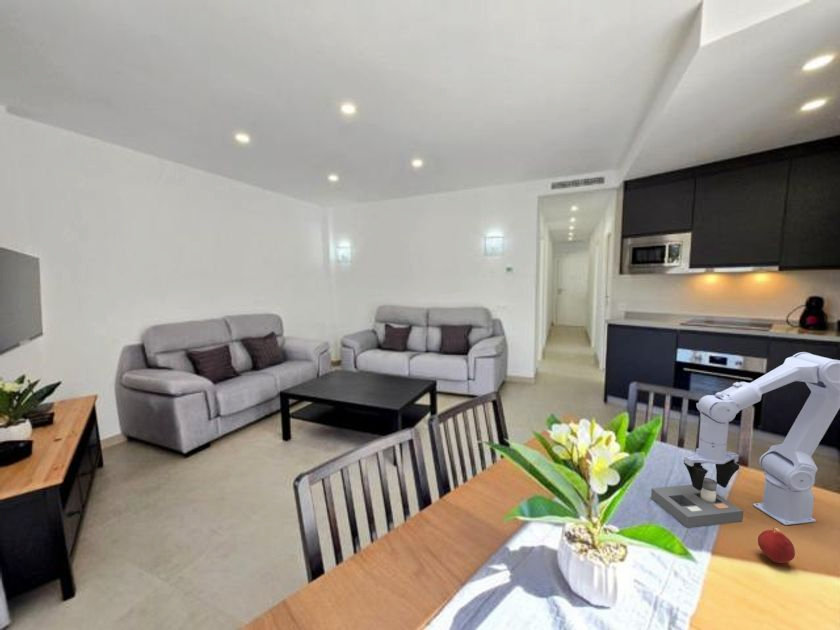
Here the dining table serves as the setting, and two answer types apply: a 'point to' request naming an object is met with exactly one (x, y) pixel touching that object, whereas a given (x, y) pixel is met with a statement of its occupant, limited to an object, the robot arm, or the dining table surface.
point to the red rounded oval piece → (776, 546)
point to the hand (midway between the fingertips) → (709, 486)
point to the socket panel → (695, 506)
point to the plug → (709, 490)
